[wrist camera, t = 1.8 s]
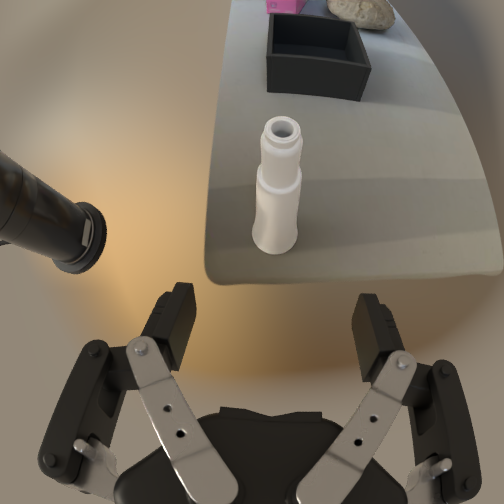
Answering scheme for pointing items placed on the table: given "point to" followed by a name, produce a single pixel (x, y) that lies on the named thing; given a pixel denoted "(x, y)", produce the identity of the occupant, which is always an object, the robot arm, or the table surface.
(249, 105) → the table surface
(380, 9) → the decorative shell
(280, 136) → the cosmetic bottle
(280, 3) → the gum box
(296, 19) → the bin
